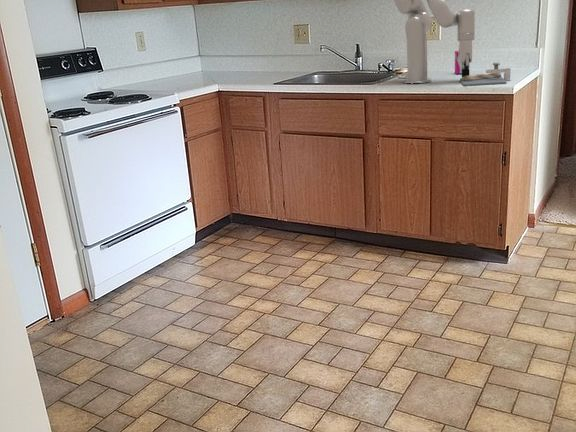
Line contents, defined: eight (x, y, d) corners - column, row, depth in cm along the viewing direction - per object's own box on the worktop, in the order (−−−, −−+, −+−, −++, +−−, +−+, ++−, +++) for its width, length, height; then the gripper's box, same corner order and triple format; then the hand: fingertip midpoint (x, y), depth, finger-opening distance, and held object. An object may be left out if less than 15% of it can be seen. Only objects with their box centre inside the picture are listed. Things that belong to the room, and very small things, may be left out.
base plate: (463, 86, 277) (463, 84, 277) (460, 80, 295) (460, 78, 295) (506, 83, 273) (506, 81, 273) (500, 77, 291) (500, 76, 291)
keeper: (486, 82, 283) (486, 70, 281) (486, 81, 285) (486, 69, 283) (510, 80, 281) (510, 68, 279) (509, 79, 283) (509, 68, 281)
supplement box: (466, 72, 318) (466, 49, 315) (468, 74, 313) (468, 50, 309) (454, 73, 319) (454, 50, 315) (456, 74, 314) (456, 51, 310)
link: (497, 75, 291) (498, 62, 289) (502, 76, 287) (503, 62, 285) (462, 79, 288) (462, 66, 286) (466, 80, 284) (466, 67, 282)
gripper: (455, 36, 291) (454, 76, 297) (460, 39, 277) (459, 80, 283) (471, 35, 290) (471, 75, 296) (477, 37, 276) (476, 79, 282)
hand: (465, 77), depth 289 cm, fingers closed
